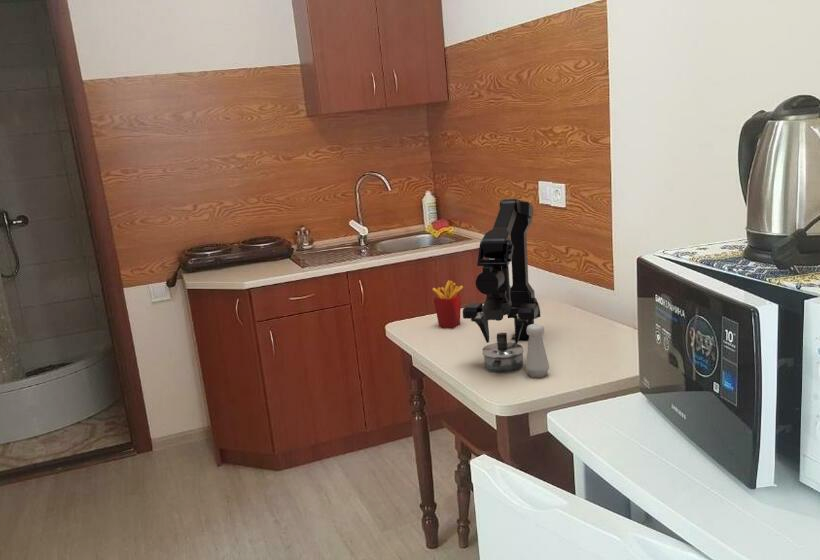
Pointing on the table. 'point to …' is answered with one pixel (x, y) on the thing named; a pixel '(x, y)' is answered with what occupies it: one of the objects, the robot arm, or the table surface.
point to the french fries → (448, 305)
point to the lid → (502, 348)
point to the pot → (503, 364)
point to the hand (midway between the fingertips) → (502, 342)
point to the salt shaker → (536, 352)
